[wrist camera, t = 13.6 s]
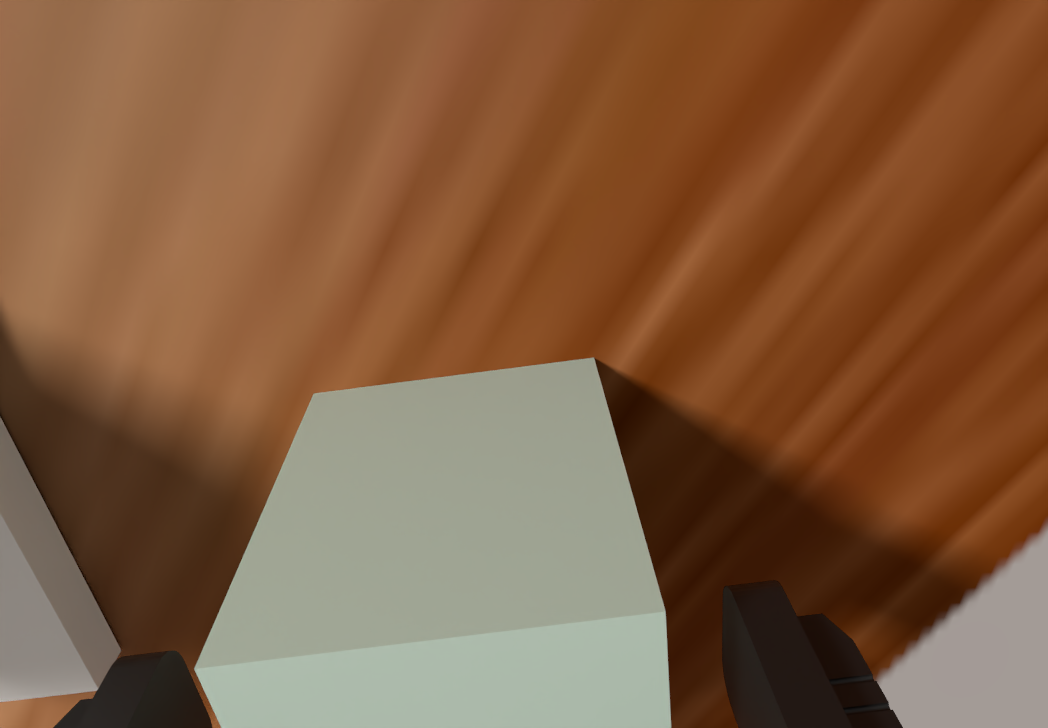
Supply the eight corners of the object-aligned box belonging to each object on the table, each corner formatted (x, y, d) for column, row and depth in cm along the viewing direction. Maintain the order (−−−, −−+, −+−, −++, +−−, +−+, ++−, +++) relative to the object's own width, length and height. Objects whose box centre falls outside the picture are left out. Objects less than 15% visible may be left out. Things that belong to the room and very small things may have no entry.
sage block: (314, 392, 13) (194, 669, 8) (593, 356, 13) (664, 611, 8) (374, 599, 15) (313, 924, 10) (612, 570, 15) (678, 881, 10)
